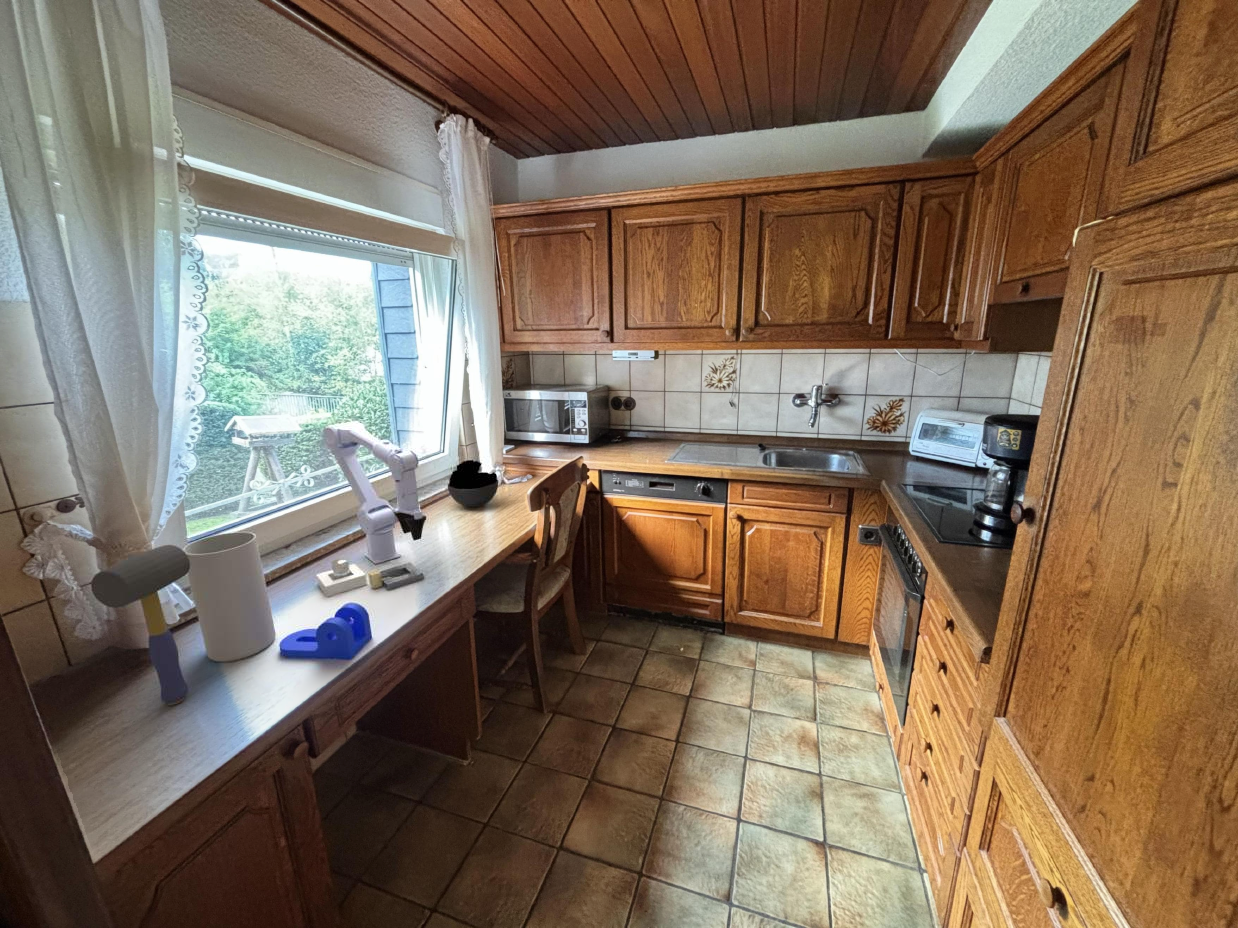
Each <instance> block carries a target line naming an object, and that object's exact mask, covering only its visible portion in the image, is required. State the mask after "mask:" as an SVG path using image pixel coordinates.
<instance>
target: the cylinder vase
mask: <svg viewBox="0 0 1238 928" xmlns="http://www.w3.org/2000/svg"><path fill="white" fill-rule="evenodd" d="M182 550H183V551H184V552H185V553H186V554H187V556H188V558H189V560H190V569H189V572H188V573H187V576H188V580H189V585H190V589H191V593H192V598H193V601H194V606H195V610H196V614H197V619H198V623H199V627H200V631H201V636H202V638H203V643H204V646H205V647H204V648H205V652H206V656H207V657H208V659H210V660H211V661H215V662H219V663H221V662H222V663H223V662H226V663H227V662H234V661H238V660H242V659H246V658H248V657H251V656H254V655H256V654H258V653H260V652H262V651H263V650H264V649H266V648H268V647H269V646H270V645H271V644H272V643H273V641H274V640H275V638H276V629H275V623H274V618H273V613H272V609H271V608H272V607H271V604H270V599H269V595H268V594H269V593H268V589H267V583H266V580H265V574H264V570H263V564H262V559H261V555H260V549H259V543H258V539H257V535H256V534H255V533H254V532H251V531H235V532H233V531H232V532H226V533H220V534H216V535H211V536H207V537H204V538H201V539H198V540H195V541H193V542H190V543H189V544H186V546H184V547H183V548H182Z"/></svg>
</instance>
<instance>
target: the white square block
mask: <svg viewBox="0 0 1238 928" xmlns="http://www.w3.org/2000/svg"><path fill="white" fill-rule="evenodd" d="M349 570H350V576H348V577H344V578H341V579H338V580H334V574H333V569H331V570H327V571H323V572H320V573H317V574H316V580H317V581H316V583H317V585H318V586H319V588H320V589H321V591H322V592H323V593H324V594H325V595H326V597H328V598H329V597H331V596H334V595H337V594H341V593H344V592H347V591H350V590H354V589H356V588H360V587H363V586H367V585H368V584H367V575H366V574H365V573H364V572H363V570H362V569H361V568H359V567H358V565H356V563H352V564H349Z"/></svg>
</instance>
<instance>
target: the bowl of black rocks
mask: <svg viewBox="0 0 1238 928" xmlns="http://www.w3.org/2000/svg"><path fill="white" fill-rule="evenodd" d="M482 464H483V463H482V462H480V461H478V460H473V459H472V460H471V459H467V460H463V461H462V462H461V463H459V464H457V465H456V469H455V470H453V471H452V472H451V475H450V477H449V479H448V481H449V483H448V484H447V490H448V493H449V495H450V496H451V498H452V499H453V500H454V501H455V502H456V503H457V504H459V505H461V506H463V507H467V508H478V507H481V506H485V505H486V504H488V503H489V502H490V501H492V499H493V498H494V497H495V496H496V493H497V492H498V489H499V480H498V475H497V474H496V472H491V473H489V472H487V471H486V472H483V471H482V472H479V471H480V467H481V466H482Z"/></svg>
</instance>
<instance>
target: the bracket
mask: <svg viewBox="0 0 1238 928" xmlns="http://www.w3.org/2000/svg"><path fill="white" fill-rule="evenodd" d="M372 635H373V634H372V629H371V621H370V615H369V612H368V610H367V609H366V608H365V607H364V606H363V605H361V604H360V603H357V602H347V603H345V604H344V605H342V606H341V607H340V608H339V609H338V610H337V611H336V612H335V613H334V616H332V617H329V618H328V619H326V620H324V621H323V622H322V623H321V624H320V625H319V626H318V627H317V628H305V629H302V630H298V631H295V632H292V633H291V634H288V635H286V636H285V637H284V638H282V640H281V641H280V642H279V644H278V646H279V652H280V655H281V656H282V657H284V658H287V659H288V658H290V659H311V660H313V659H314V660H315V659H316V660H341V661H344V660H345V661H346V660H347V661H351V660H352V659H353V658H355V656H356V655H357V654H358V653H359V652H361V650H362V649H363V648H364V647H365V646H366V645H367V644H368V643H369V642H370V640H371V639H373V636H372Z"/></svg>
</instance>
